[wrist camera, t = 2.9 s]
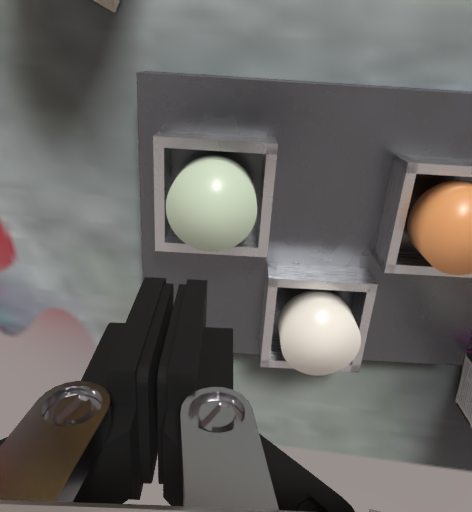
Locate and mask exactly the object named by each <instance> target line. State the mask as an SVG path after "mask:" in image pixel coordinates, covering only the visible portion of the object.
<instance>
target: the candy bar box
mask: <svg viewBox="0 0 472 512" xmlns="http://www.w3.org/2000/svg"><path fill="white" fill-rule="evenodd" d="M455 402H456V404H457V406H458V407H459V409H460V411H461V412H462V414H463V415H464V417H465V419H466V420H467V422H468V423H469V425H470V427H471V428H472V350H469V351H466V353H465V356H464V359H463V362H462V370H461V376H460V380H459V384H458V389H457V395H456V399H455Z"/></svg>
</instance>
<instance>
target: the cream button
mask: <svg viewBox="0 0 472 512" xmlns="http://www.w3.org/2000/svg"><path fill="white" fill-rule="evenodd" d="M278 330H279V337H280V344H281V351H282V354H283V356H284V358H285V360H286V361H287V363H288V364H289V365H290V366H292V367H293V368H294V369H296V370H297V371H299V372H302V373H305V374H309V375H328V374H332V373H335V372H337V371H340V370H341V369H343V368H345V367H346V366H348V365H349V364H350V363H351V362H352V361H353V360H354V358H355V357H356V355H357V354H358V352H359V349H360V345H361V335H360V331H359V328H358V326H357V324H356V321H355V319H354V317H353V315H352V312H351V310H350V308H349V306H348V304H347V303H346V302H345V301H344V300H343V299H342V298H341V297H339V296H338V295H336V294H334V293H331V292H328V291H323V290H312V291H307V292H303V293H300V294H298V295H296V296H295V297H293V298H292V299H290V300H289V301H288V302H287V303H286V304H285V305H284V307H283V308H282V310H281V312H280V315H279V318H278Z"/></svg>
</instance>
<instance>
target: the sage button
mask: <svg viewBox="0 0 472 512" xmlns="http://www.w3.org/2000/svg"><path fill="white" fill-rule="evenodd" d="M166 214H167V219H168V221H169V224H170V226H171V228H172V230H173V231H174V233H175V234H176V235H177V236H178V237H179V238H180V239H181V240H182V241H183V242H185V243H186V244H187V245H189V246H191V247H193V248H196V249H198V250H202V251H209V252H217V251H223V250H227V249H230V248H232V247H234V246H236V245H238V244H239V243H240V242H242V241H243V240H244V239H245V238H246V237H247V236H248V234H249V233H250V232H251V230H252V228H253V226H254V224H255V221H256V217H257V200H256V192H255V187H254V183H253V181H252V178H251V177H250V175H249V174H248V172H247V171H246V170H245V169H244V168H243V167H242V166H241V165H240V164H239V163H237V162H236V161H234V160H232V159H230V158H227V157H224V156H218V155H208V156H202V157H199V158H196V159H194V160H192V161H191V162H189V163H188V164H186V165H185V166H184V167H183V168H182V169H181V170H180V172H179V173H178V175H177V177H176V178H175V180H174V182H173V184H172V186H171V188H170V190H169V192H168V195H167V200H166Z"/></svg>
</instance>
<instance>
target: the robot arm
mask: <svg viewBox="0 0 472 512" xmlns="http://www.w3.org/2000/svg"><path fill="white" fill-rule="evenodd" d="M206 311H207V280H195V279H187V283H186V284H179V286H178V290H177V294H176V298H175V302H174V286H173V284H170V283H166V278H155V277H145V278H144V280H143V282H142V285H141V287H140V290H139V292H138V294H137V297H136V299H135V302H134V304H133V306H132V309H131V311H130V314H129V316H128V318H127V321H126V323H109V324H108V326H107V328H106V330H105V332H104V334H103V336H102V338H101V340H100V342H99V344H98V346H97V348H96V351H95V353H94V355H93V357H92V359H91V361H90V363H89V365H88V367H87V369H86V371H85V373H84V375H83V378H82V380H81V381H75V382H69V383H65V384H62V385H59V386H56V387H54V388H52V389H51V390H49V391H47V392H46V393H45V394H44V395H43V396H42V397H40V398H39V399H38V400H37V402H36V403H35V404H34V405H33V407H32V408H31V409H30V410H29V411H28V413H27V414H26V415H25V416H24V418H23V419H22V420H21V421H20V423H19V424H18V425H17V426H16V428H15V429H14V430H13V431H12V433H11V434H10V435H9V436H8V437H6V438H4V439H2V440H0V512H355V511H354V509H353V508H352V506H351V505H350V504H349V503H348V502H347V501H346V500H344V499H343V498H342V497H341V496H340V495H339V494H337V493H336V492H335V491H333V490H332V489H331V488H329V487H328V486H327V485H326V484H324V483H323V482H322V481H320V480H319V479H318V478H316V477H315V476H314V475H313V474H311V473H310V472H309V471H307V470H306V469H305V468H303V467H302V466H301V465H300V464H298V463H297V462H296V461H294V460H293V459H292V458H290V457H289V456H287V454H285V453H284V452H283V451H281V450H280V449H279V448H277V447H276V446H275V445H273V444H272V443H271V442H270V441H268V440H267V439H266V438H264V437H263V436H262V435H260V434H259V432H258V428H257V424H256V420H255V416H254V413H253V409H252V407H251V405H250V403H249V401H248V400H247V399H246V398H245V397H244V396H243V395H242V394H240V393H238V392H236V391H234V390H233V328H215V327H206ZM157 455H158V478H159V484H163V488H164V489H163V491H164V493H163V497H164V498H165V500H166V501H167V502H168V503H169V504H170V505H171V506H161V505H132V504H123V503H124V502H125V501H127V500H128V499H135V500H140V496H141V492H142V487H143V483H152V480H153V475H154V470H155V465H156V460H157ZM369 512H379V511H375V510H371V509H370V510H369Z"/></svg>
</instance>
